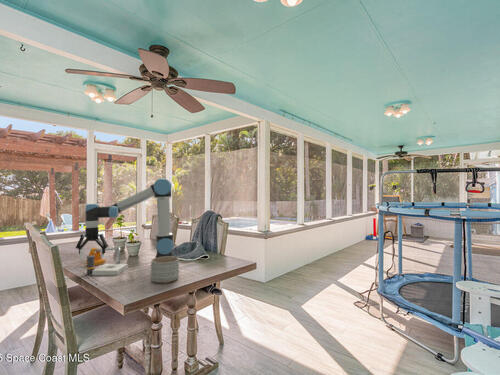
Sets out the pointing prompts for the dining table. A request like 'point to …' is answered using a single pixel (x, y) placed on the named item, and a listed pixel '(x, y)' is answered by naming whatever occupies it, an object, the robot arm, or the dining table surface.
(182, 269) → the dining table surface
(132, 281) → the dining table surface
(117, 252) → the handle
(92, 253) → the bracket
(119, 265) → the socket block
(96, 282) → the dining table surface
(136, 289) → the dining table surface
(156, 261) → the planter
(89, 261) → the plug
